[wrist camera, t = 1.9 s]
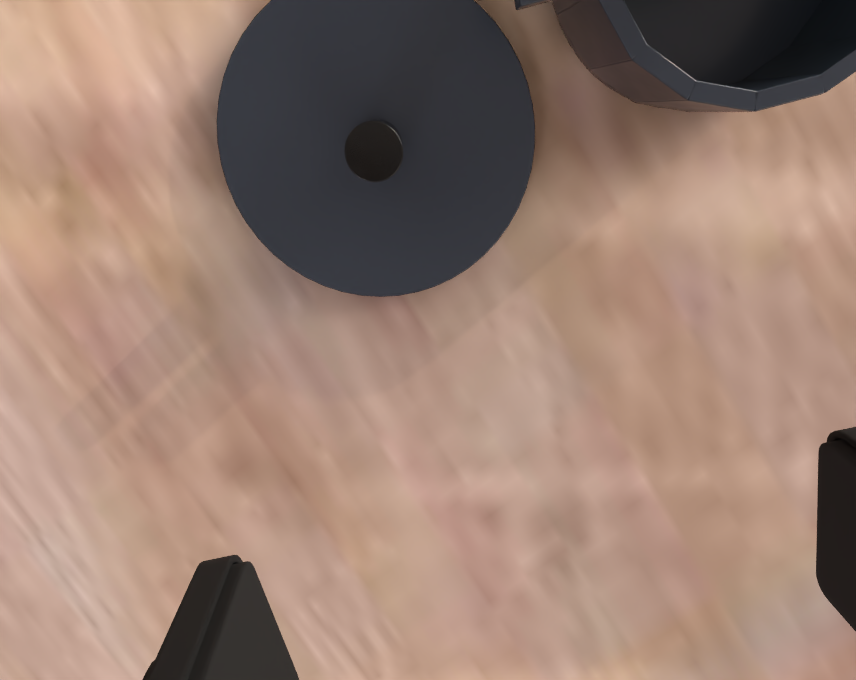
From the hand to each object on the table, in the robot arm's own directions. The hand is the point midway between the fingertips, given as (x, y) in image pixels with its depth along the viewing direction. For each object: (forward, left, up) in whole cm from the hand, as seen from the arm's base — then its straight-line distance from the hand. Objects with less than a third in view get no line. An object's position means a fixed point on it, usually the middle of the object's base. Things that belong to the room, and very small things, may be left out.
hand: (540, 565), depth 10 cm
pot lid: (-6, -2, -24) cm, 25 cm away
